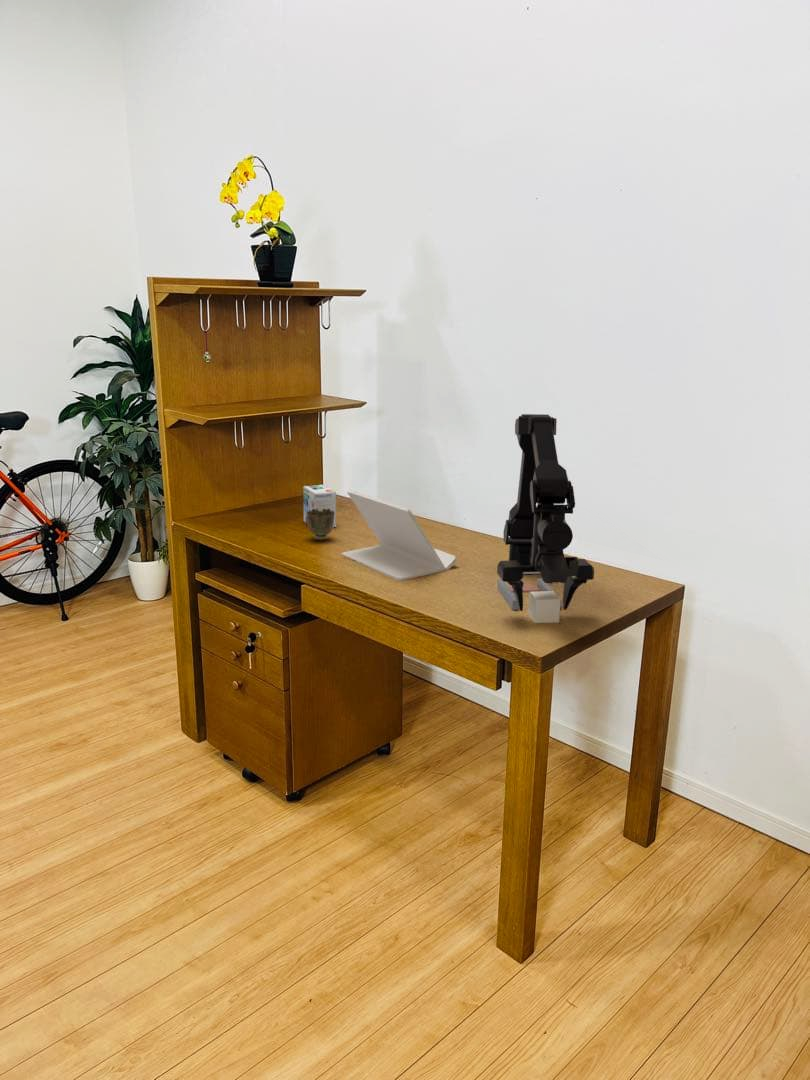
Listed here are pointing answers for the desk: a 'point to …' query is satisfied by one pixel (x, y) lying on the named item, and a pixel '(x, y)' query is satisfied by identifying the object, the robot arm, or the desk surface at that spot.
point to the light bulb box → (319, 500)
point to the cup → (320, 523)
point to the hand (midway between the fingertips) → (542, 609)
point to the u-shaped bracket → (511, 597)
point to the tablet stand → (396, 541)
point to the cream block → (544, 606)
